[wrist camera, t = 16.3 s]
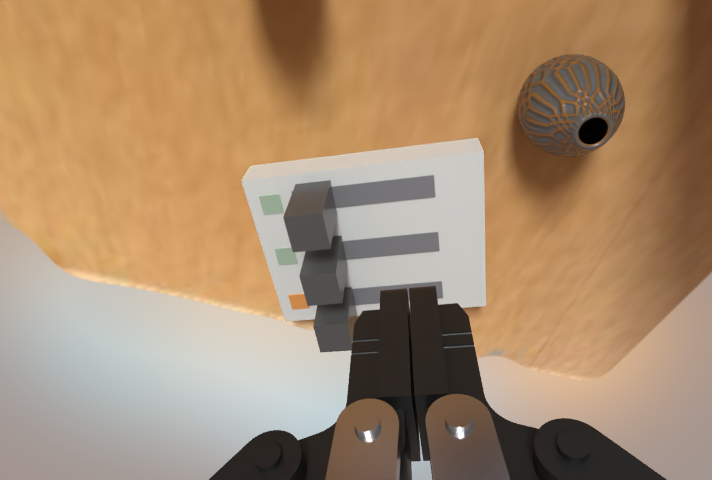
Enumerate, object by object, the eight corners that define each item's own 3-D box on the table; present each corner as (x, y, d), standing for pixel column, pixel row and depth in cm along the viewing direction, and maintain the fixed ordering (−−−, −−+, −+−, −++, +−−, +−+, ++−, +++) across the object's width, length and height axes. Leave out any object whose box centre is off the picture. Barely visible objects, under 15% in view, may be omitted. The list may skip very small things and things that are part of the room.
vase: (616, 53, 36) (673, 86, 29) (579, 139, 40) (622, 188, 33) (526, 38, 36) (561, 68, 29) (498, 126, 40) (522, 172, 32)
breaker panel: (477, 137, 40) (496, 182, 33) (481, 286, 49) (496, 347, 42) (250, 165, 43) (222, 213, 36) (290, 302, 52) (274, 362, 44)
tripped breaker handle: (351, 287, 45) (347, 323, 41) (356, 312, 47) (353, 350, 43) (320, 289, 46) (313, 326, 42) (326, 314, 47) (320, 352, 43)
